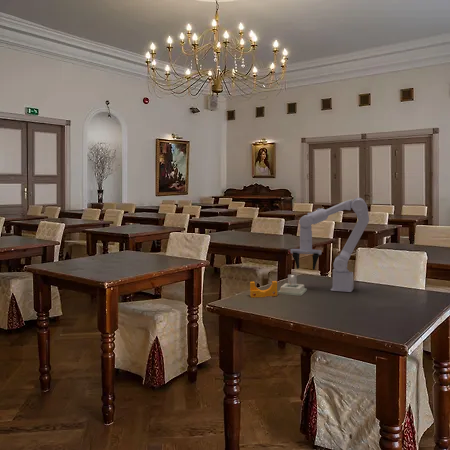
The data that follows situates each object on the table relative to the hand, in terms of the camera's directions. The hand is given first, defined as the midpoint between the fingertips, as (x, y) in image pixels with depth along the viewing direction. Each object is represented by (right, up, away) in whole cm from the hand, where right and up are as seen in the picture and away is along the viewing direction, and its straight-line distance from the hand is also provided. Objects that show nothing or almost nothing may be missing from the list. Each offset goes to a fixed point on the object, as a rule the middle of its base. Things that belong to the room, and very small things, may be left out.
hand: (305, 268), depth 234 cm
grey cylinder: (-7, -9, -7) cm, 14 cm away
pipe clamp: (-21, -11, -13) cm, 27 cm away
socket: (-7, -10, -7) cm, 14 cm away
